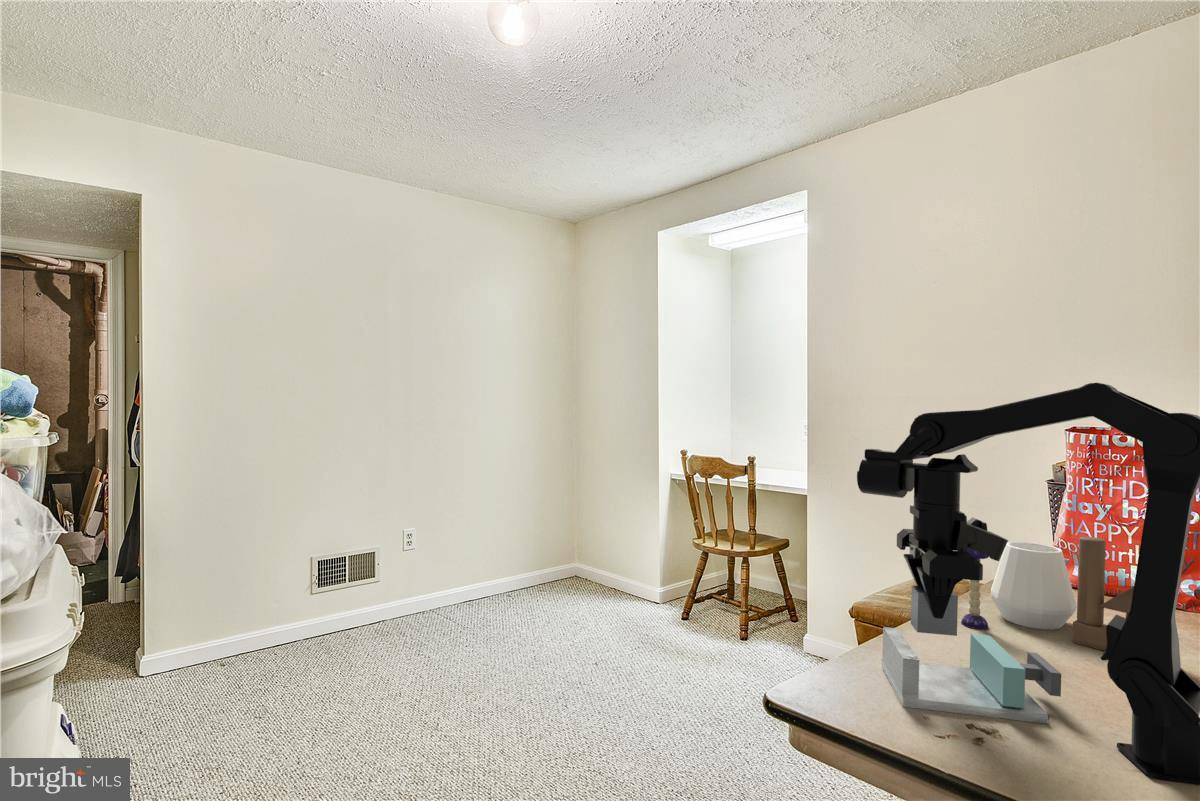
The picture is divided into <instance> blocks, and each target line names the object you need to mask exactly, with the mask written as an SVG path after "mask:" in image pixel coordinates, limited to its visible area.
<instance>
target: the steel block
mask: <svg viewBox="0 0 1200 801" xmlns="http://www.w3.org/2000/svg"><path fill="white" fill-rule="evenodd" d="M910 594H911V598H910V599H911V600H910V624H911V627H913V629H914V630H915V631H916V633H921V634H922V633H923V634H931V635H933V634H934V635H941V636H942V635H944V636H958V612H959V610H958V607H959V595H957V593H956V592H954V591H953V592H952V594H951V597H950V600H949V603H948V605H947V608H946V611H945V614H944V617H943V618H942V619H938V618H934V617H933V614H932V611H931V608H930V606H929V603H928V600H927V597H926V594H925V591H924V588H923V586H916V585H911V592H910Z"/></svg>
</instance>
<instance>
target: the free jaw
mask: <svg viewBox="0 0 1200 801" xmlns="http://www.w3.org/2000/svg"><path fill="white" fill-rule="evenodd" d="M969 643H970V646H969V647H970V649H969V650H970V651H969V668H970V669H971V670H972V671H973V672H974V673H975V675H976V676H977V677H978V678H979V679H980V680H981V681H982V683H983V684H984V685H985V686H986V687H987V688H988V690H989V691H990V692H991V693H992V694H993V695H994V697H995V698H996V699H997V700H998V701H999V702H1000V703H1001V705H1002V706H1009V707H1018V708H1024V698H1025V691H1026V690H1025V689H1026V687H1025V686H1026V681H1035V683H1036V684H1038V685H1039V686H1040V687H1041V688H1042V689H1043V690H1044V691H1045V693H1047V694H1048V695H1049V696H1053V697H1060V698H1061V696H1062V672H1060V671H1059V670H1058V669H1057V668H1055V667H1054V666H1053V665H1052V664H1051V663H1049V661H1047V660H1046V659H1045V658H1044V657H1043V656H1041V655H1040V654H1039V653H1038V652H1030V651H1027V652H1026V653H1027V654H1026V656H1027V657H1026V663H1023V662H1018V661H1017V660H1016V659H1015V658H1014V657H1013V656H1012V655H1011V654H1010V653H1009V652H1008V651H1006V649H1004V648H1003V647H1002V646H1001V645H1000V644H999V643H998V642H997V641H996V640H994V638H993V637H991V635H985V634H976V633H974V634H973V633H971V634H970V642H969Z"/></svg>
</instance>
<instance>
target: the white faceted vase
mask: <svg viewBox="0 0 1200 801" xmlns="http://www.w3.org/2000/svg"><path fill="white" fill-rule="evenodd" d="M1069 576H1070V575H1069V572H1068V568H1067V564H1066V560H1065V556H1064V553H1063V550H1062V549H1061V548H1058V547H1056V546H1053V545H1048V544H1044V543H1040V542H1039V543H1038V542H1032V541H1030V542H1029V541H1010V542H1009V541H1008V542H1007V544H1006V547H1005V549H1004V551H1003V553H1002V556H1001V558H1000V560H999V563H998V568H997V570H996V573H995V577H994V578H993V582H992V585H991V587H990V588H991V590H990V595H991V599H992V601H993V603H994V604H995V606H996V608H997V610H998V611H999V613H1000V614H1001V616H1002V618H1004V619H1005V620H1007V621H1009V622H1010V623H1013V624H1016V625H1020V626H1023V627H1027V628H1032V629H1036V630H1052V631H1053V630H1059V629H1061V628H1063V626H1064V625H1065V624H1066V623H1067V622H1068V621H1069V619H1070V618H1071V617H1072V616H1073V615H1074V613H1076V612H1077V601H1076V597H1075V595H1074V591H1073V587H1072V583H1071V579H1070V577H1069Z"/></svg>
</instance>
